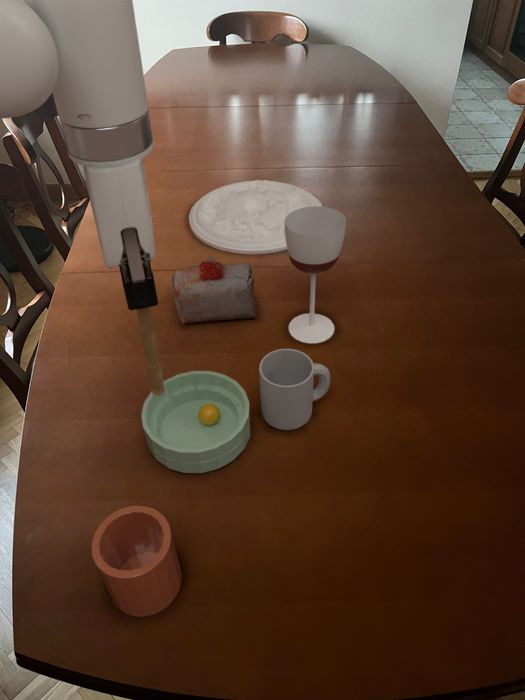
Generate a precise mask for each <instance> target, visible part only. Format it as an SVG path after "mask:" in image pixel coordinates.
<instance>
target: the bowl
mask: <svg viewBox="0 0 525 700" xmlns="http://www.w3.org/2000/svg"><path fill="white" fill-rule="evenodd" d="M163 382H164V388H165V392H164V394H162V395H160V396H155V395H153V393H152V390H151V391H150V393H149V394H148V396H147V397H146V398H145V400H144V402H143V405H142V410H141V414H140V416H141V425H142V429H143V432H144V436H145V439H146V443H147V448H148V450H149V451H150V453H151V454H152V456H153V457H154V459H155V460H156V461H157V462H159V463H160V464H161V465H163V466H164V467H166V468H167V469H168V470H169V469H170V470H173V471H177V472H179V473H182V474H203V473H208V472H211V471H215V470H219V469H220V468H222V467H225V466H226V465H228V464H230V463H231V462H233V461H234V460H235V459H236V458H237V457H238V456H240V455H241V453H242V452H244V450H245V448H246V447H247V445H248V443H249V440H250V439H251V432H252V431H251V430H252V421H251V420H252V418H251V403H250V400H249V398H248V395H247V391H246V390H245V389H244V388H243V387H242V386H241V385H240V384H239V383H238V381H237V380H235V379H234V378H232V377H230V376H227V375H226V374H224V373H221V372H217V371H211V370H191V371H187V372H182V373H177V374H176V375H174V376H172V377H169V378H167V379H165V380H163ZM205 404H213V405H215V406H216V407H217V408H218V409H219V412H220V417H219V420H218V421H217V422H216V423H215V424H213V425H204V424H203V423H201V422H200V420H199V418H198V411H199V409H200V408H201V406H203V405H205Z"/></svg>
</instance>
